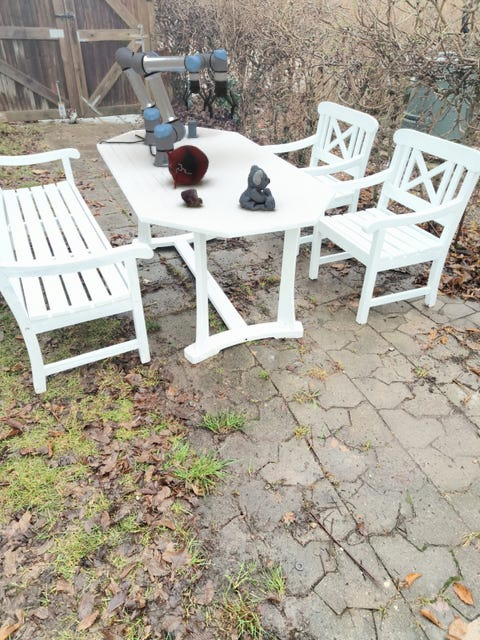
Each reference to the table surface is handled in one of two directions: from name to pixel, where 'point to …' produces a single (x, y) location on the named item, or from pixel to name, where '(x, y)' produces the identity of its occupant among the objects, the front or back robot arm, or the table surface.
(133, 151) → the table surface
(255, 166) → the koala plush
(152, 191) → the table surface
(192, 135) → the block
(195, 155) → the dark red rounded piece
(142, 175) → the table surface
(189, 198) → the rock
